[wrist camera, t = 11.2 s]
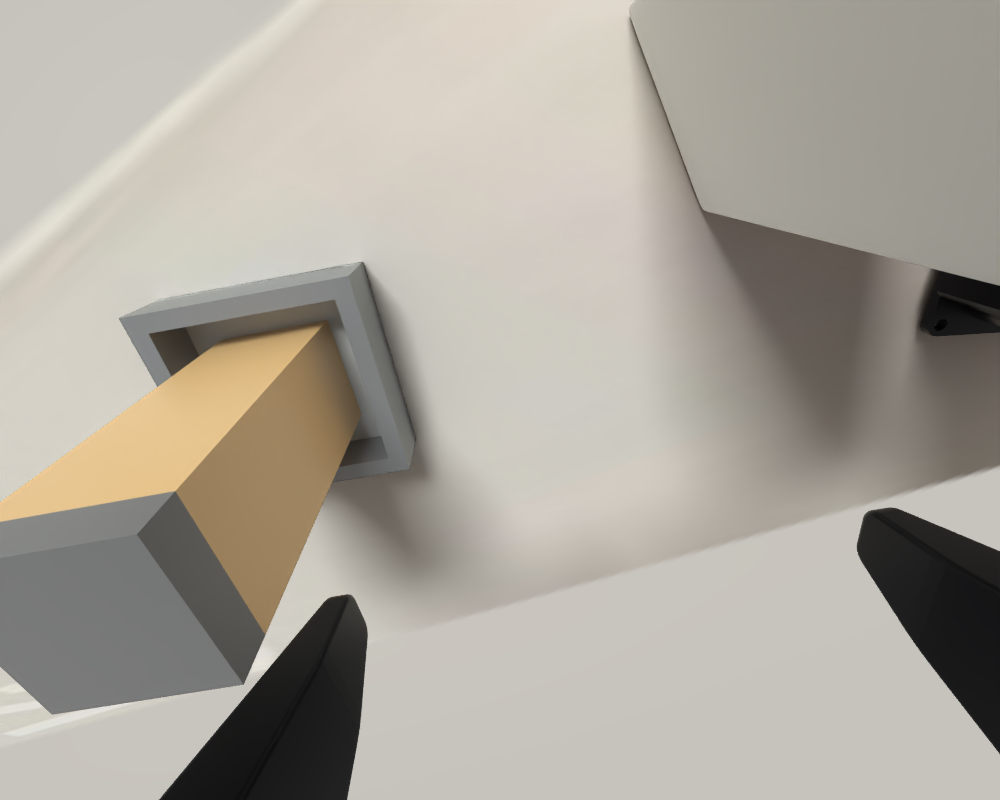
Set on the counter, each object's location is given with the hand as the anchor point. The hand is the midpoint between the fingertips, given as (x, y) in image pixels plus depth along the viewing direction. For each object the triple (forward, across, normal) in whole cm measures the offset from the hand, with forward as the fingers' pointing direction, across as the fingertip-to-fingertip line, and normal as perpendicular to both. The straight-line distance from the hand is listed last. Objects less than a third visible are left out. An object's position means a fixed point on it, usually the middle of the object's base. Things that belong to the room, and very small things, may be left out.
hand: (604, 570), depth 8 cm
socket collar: (+13, +10, 0) cm, 16 cm away
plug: (+13, +10, 0) cm, 16 cm away
